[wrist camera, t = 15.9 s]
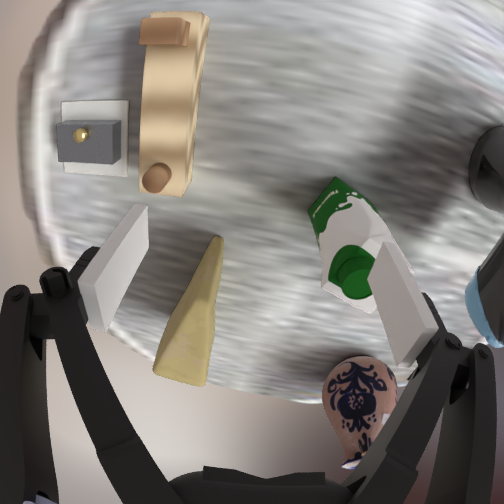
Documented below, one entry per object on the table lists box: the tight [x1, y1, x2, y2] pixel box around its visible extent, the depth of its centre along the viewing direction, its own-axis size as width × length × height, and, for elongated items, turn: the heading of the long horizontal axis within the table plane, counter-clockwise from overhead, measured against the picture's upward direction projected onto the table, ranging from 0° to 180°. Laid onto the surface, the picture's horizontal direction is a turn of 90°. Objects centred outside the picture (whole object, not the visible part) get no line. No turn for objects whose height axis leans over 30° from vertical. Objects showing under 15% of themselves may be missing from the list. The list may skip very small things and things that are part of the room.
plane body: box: [139, 11, 210, 197], centre depth 34 cm, size 24×6×11 cm, turn 172°
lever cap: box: [56, 120, 121, 165], centre depth 39 cm, size 6×10×4 cm, turn 82°
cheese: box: [153, 236, 224, 386], centre depth 50 cm, size 22×10×15 cm, turn 161°
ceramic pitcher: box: [322, 356, 398, 469], centre depth 60 cm, size 18×21×25 cm
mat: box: [62, 100, 129, 177], centre depth 41 cm, size 12×12×1 cm
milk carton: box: [308, 177, 415, 314], centre depth 38 cm, size 9×9×20 cm
